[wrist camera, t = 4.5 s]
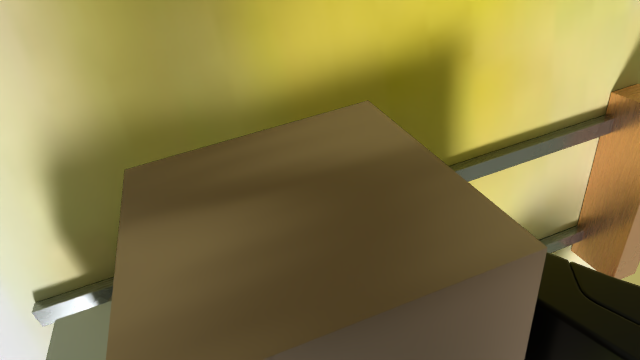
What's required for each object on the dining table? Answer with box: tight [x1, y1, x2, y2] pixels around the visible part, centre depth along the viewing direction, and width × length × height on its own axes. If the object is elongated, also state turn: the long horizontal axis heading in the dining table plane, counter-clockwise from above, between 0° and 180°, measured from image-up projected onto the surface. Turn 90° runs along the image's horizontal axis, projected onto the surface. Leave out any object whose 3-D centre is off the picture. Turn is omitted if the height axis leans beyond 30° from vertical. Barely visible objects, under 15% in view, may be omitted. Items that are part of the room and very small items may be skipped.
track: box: [32, 84, 640, 326], centre depth 25 cm, size 35×13×4 cm, turn 98°
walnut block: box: [106, 101, 548, 360], centre depth 8 cm, size 5×5×5 cm
